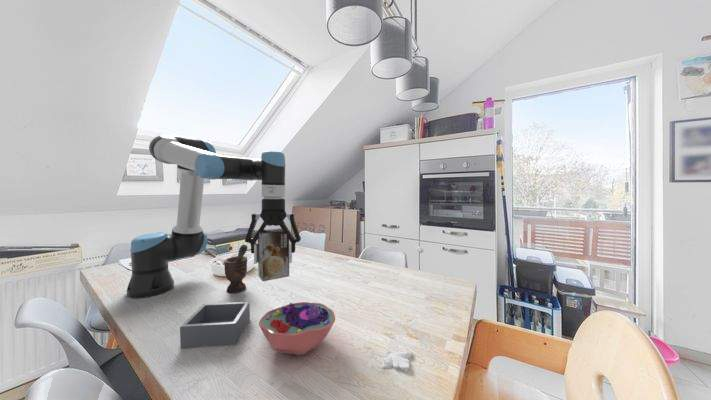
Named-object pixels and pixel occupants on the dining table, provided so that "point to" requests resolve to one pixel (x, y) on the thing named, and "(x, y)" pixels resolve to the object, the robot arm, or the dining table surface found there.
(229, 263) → the mortar and pestle
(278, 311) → the cell model
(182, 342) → the open square bin
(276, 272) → the coffee box
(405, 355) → the acanthus leaf ornament
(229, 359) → the dining table surface
